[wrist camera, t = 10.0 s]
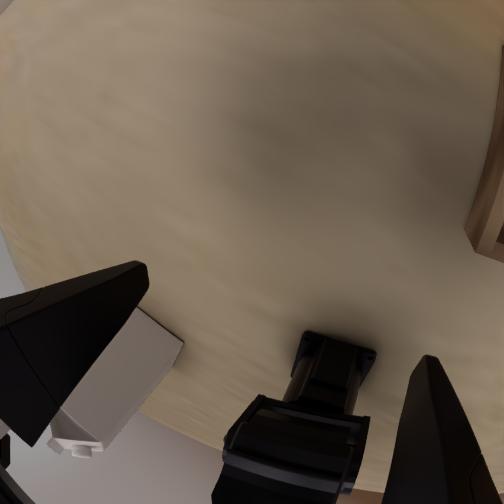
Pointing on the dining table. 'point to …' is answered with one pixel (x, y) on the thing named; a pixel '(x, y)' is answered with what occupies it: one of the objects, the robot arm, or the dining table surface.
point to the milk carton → (114, 387)
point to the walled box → (491, 192)
